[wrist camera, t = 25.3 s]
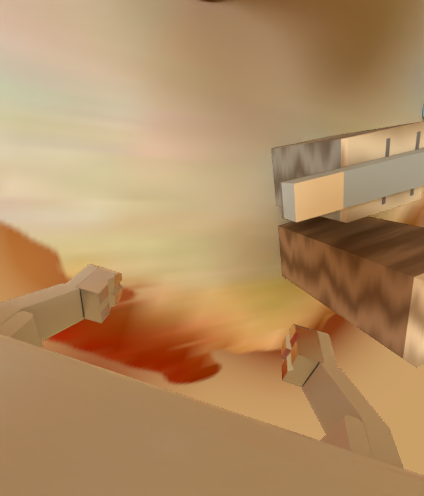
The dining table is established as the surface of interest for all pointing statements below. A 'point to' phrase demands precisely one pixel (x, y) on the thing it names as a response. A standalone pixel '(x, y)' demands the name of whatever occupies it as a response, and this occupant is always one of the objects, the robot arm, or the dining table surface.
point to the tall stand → (363, 275)
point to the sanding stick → (351, 185)
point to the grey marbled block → (349, 162)
